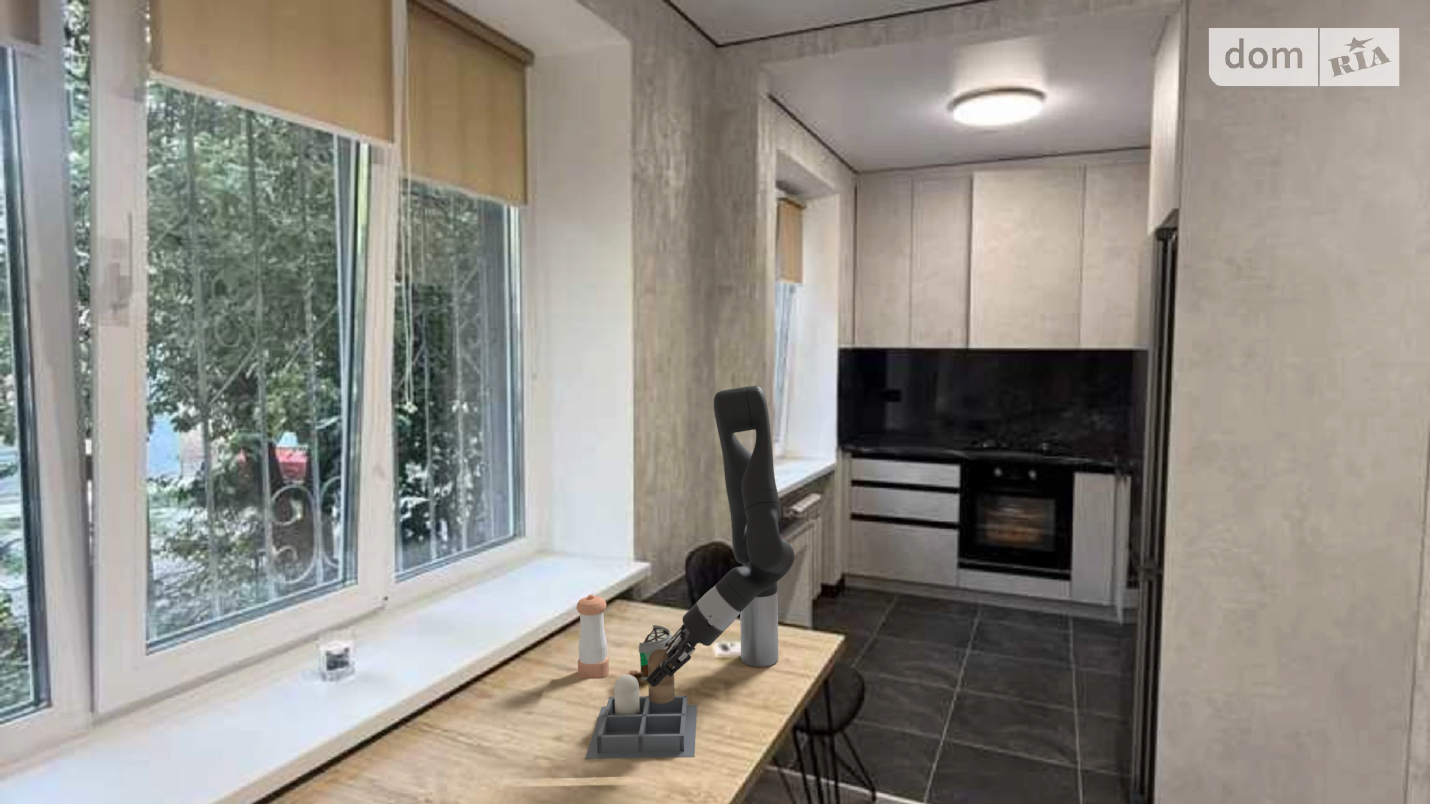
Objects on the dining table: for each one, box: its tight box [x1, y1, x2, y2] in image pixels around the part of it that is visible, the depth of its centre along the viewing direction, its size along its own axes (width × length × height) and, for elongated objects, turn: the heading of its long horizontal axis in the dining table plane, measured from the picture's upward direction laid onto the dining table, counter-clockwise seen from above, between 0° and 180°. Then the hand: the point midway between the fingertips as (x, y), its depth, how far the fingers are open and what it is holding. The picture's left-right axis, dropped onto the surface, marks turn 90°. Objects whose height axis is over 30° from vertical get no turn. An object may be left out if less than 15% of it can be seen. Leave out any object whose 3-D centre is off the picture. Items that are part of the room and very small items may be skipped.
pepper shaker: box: [576, 593, 610, 680], centre depth 178 cm, size 7×7×19 cm
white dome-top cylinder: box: [613, 673, 640, 715], centre depth 153 cm, size 5×5×10 cm
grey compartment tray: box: [584, 695, 698, 760], centre depth 149 cm, size 20×20×4 cm
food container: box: [638, 624, 673, 681], centre depth 176 cm, size 12×6×10 cm, turn 168°
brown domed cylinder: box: [647, 649, 676, 704], centre depth 145 cm, size 5×5×10 cm
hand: (651, 676), depth 145 cm, fingers closed on brown domed cylinder, 5 cm apart
